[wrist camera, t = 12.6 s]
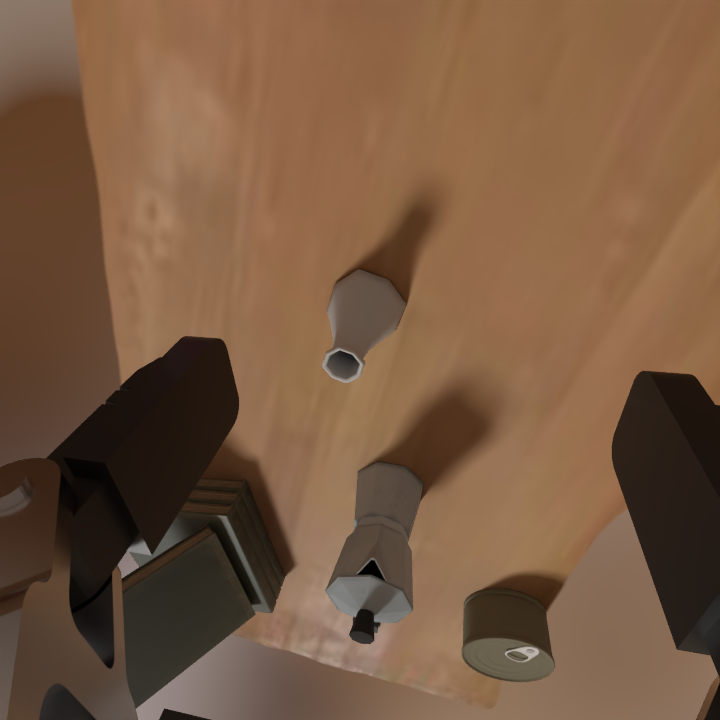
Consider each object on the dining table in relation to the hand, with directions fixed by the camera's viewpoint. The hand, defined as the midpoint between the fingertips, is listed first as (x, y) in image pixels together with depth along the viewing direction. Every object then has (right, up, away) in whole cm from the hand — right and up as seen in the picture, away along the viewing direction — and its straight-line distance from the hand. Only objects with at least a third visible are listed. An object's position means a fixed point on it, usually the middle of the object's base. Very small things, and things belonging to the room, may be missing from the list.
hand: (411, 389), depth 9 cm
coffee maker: (+3, -16, +48) cm, 50 cm away
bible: (-24, -25, +61) cm, 70 cm away
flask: (0, +6, +34) cm, 34 cm away
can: (+20, -36, +58) cm, 71 cm away
